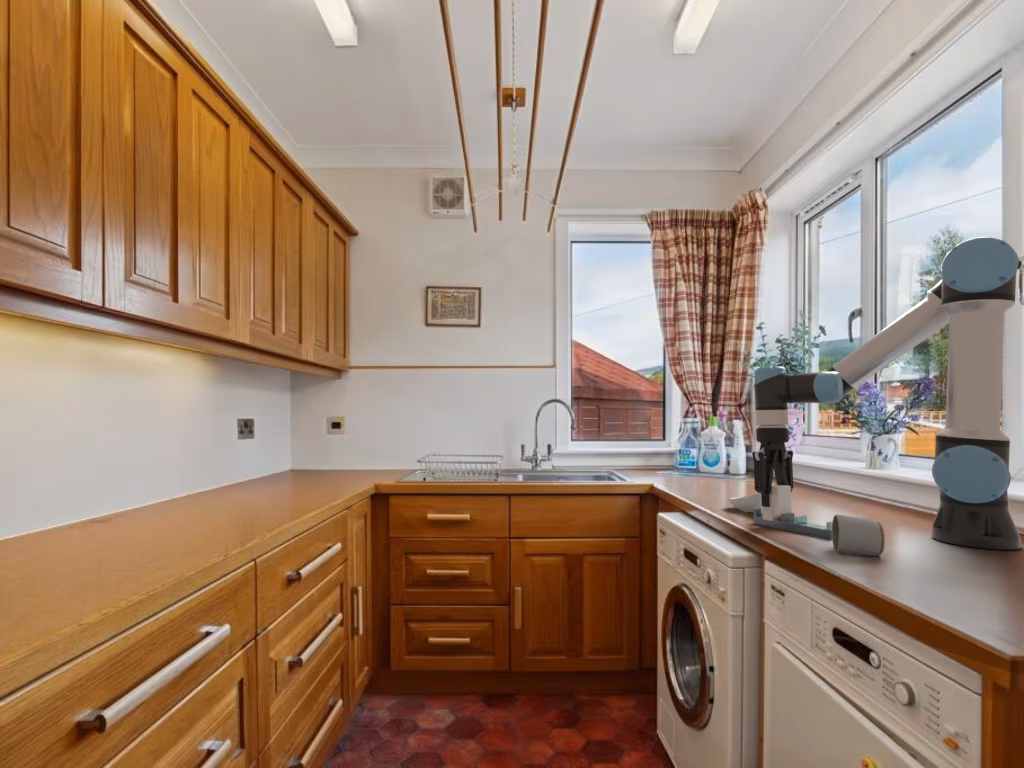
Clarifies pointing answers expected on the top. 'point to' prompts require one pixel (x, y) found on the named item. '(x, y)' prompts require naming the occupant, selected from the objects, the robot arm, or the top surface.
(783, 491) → the nylon block
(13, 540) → the top surface
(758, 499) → the spoon rest
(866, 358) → the robot arm
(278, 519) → the top surface
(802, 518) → the rail
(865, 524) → the grey cylinder
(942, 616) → the top surface
